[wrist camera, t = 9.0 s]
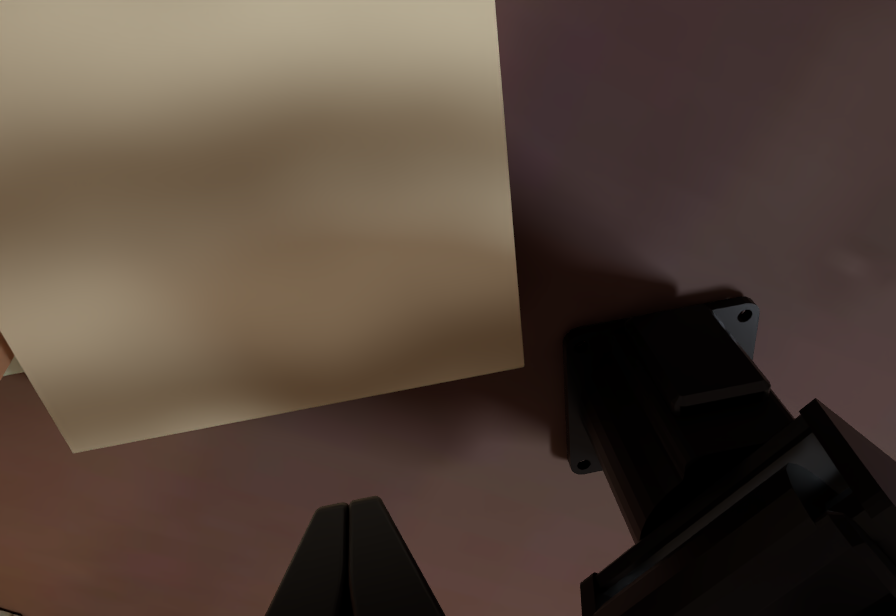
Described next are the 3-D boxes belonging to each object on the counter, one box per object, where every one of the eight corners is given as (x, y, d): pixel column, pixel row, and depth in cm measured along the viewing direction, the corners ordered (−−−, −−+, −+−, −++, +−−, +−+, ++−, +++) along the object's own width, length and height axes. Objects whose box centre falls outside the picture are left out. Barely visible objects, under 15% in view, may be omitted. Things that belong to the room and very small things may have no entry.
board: (506, 318, 23) (524, 366, 21) (96, 395, 22) (73, 453, 20) (454, -223, 15) (475, -230, 13) (-185, -128, 14) (-269, -120, 12)
